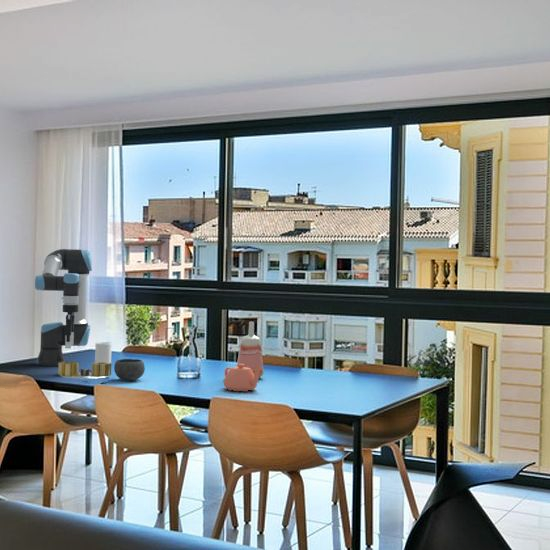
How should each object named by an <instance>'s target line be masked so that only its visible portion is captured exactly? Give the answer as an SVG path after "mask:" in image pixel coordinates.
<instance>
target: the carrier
mask: <svg viewBox="0 0 550 550" xmlns="http://www.w3.org/2000/svg"><path fill="white" fill-rule="evenodd" d="M61 377H62V378H66V379H82V380H81V381H82V382H81V383H83V382H84V383H85V382H86V383H89V382H88V381H89V379H90V380H91V379H102V378H106V377H108V380H109V379H110V377H109V376H104V377H101V376H92V375H91V371H90V368H86V367H85V368H80V371H78V375H76V376H61ZM83 379H84V380H83ZM85 379H88V380H85Z"/></svg>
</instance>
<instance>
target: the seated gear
mask: <svg viewBox="0 0 550 550" xmlns="http://www.w3.org/2000/svg"><path fill="white" fill-rule="evenodd" d="M90 368H91V371H90V372H91V375H92V376H101V377H103V378H105V377H104V376H108V377H110V376H112V362H111V363H108V362H95V361H94V362H91V367H90Z"/></svg>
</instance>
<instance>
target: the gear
mask: <svg viewBox="0 0 550 550" xmlns="http://www.w3.org/2000/svg"><path fill="white" fill-rule="evenodd" d="M79 364H80V363H79V362H78V361H65V362H61V363H59V366H58V368H57V369H58V371H57V372H58V374H57V375H58V376H60V377H62V376H76V375H78V372H79Z"/></svg>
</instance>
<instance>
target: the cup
mask: <svg viewBox="0 0 550 550" xmlns="http://www.w3.org/2000/svg"><path fill="white" fill-rule="evenodd" d="M112 345H113V344H112V342H108V341H107V342H106V341H105V342H104V341H101V342H100V341H99V342H98V341H97V342H95V349H94V353H95V355H94V362H108V363H111V364H112Z"/></svg>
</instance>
